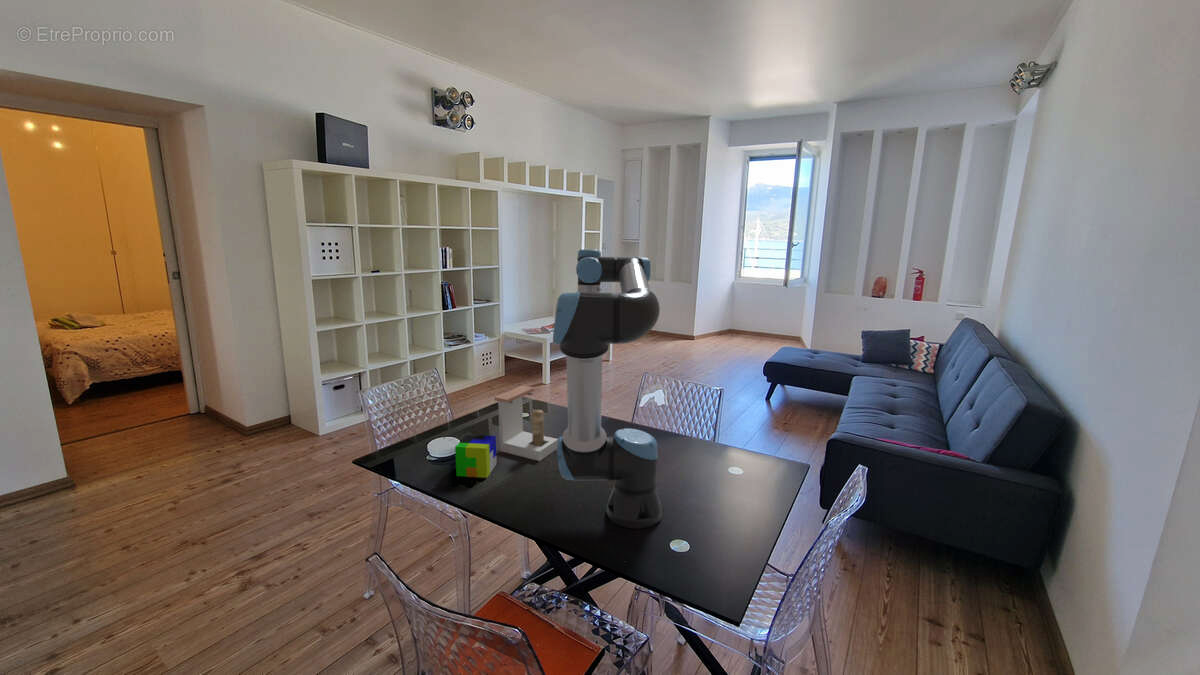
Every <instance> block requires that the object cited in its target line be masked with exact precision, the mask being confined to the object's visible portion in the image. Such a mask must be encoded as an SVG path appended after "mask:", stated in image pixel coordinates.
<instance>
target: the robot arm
mask: <svg viewBox="0 0 1200 675" xmlns="http://www.w3.org/2000/svg"><path fill="white" fill-rule="evenodd" d="M651 267H652V266H651V260H650V259H649V258H648V257H643V256H642V257H641V256H631V257H628V256H625V257H624V256H622V257H621V256H616V257H615V256H602V252H601V250H599V249H579V250H578V251H577V263H576V267H575V270H576V272H575V274H576V275H577V276H576V277H577V291H576V292H564V293H563V292H562V294H560V295H559V297H558V298H557V302H556V309H555V315H554V325H553V326H554V327H553V333H552V334H553V335H552V342H553V344H557V345H559V350H560V353H562V355H564V356H565V358H566V359H565V360H566V390H567V392H566V395H567V396H566V397H567V428H566V429H565V430H564V431H563V433H562V435H561V436H559V437H558V438H557V439H558V444H557V449H556V451H557V462H558V463H557V464H558V470H559V472H560V476H561V477H562V478H563V479H565V480H566V481H567V480H568V481H575V482H579V481H584V482H585V481H613V488H612V490H611V493H610V495H609V499H608V502H607V504H606V514H607V517H608V519H609V520H610V521H612V522H613V523H614V524H616V525H618V526H620V527H623V528H628V529H638V530H639V529H645V528H650V527H652V526H654V525H656V524H658V522H660V521H661V519H662V513H663V512H662V510H663V508H662V503H661V500H660V496H659V494H658V491H657V474H658V473H657V471H658V470H657V469H658V458H659V453H658V442H657V440H656V438H655V437H654V436H653V435H651V434H650V433H648V432H647V431H643V430H640V429H638V428H637V429H636V428H622V429H617V430H616V431H615V433H614V434H613V436H609V435H608V436H607V433H606V431H605V429H604V428H603V427H602V393H603V392H602V389H603V387H602V386H603V385H602V384H603V356H604V355H606V354H607V353H608V352H609V349H610V348H609V347H610V345H612V344H615V345H616V344H617V345H619V344H621V345H622V344H623V345H624V344H629V343H632V342H635V341H638V340H639V339H641V338H643V337H644V336H646V335H648V333H649V332H651V330H652V329H653V328H654V326H655V325H656V323H657V322H658V321H659V320H658V319H659V318H660V317H659V316H660V311H661V310H660V309H661V307H660V303H659V300H658V297H657V296H656V294H655V293H654V292H653V291H652V290H651V288H650V285H649V281H650V279H651V270H652V269H651ZM602 283H620V284H619V285H620V292H602V288H601V287H602V286H601V285H602Z"/></svg>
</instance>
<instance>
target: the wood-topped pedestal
mask: <svg viewBox="0 0 1200 675" xmlns="http://www.w3.org/2000/svg"><path fill="white" fill-rule="evenodd" d="M534 391H535V387H532V386H528V385H527V386H526V385H520V386H518V387H515V388H513V389H511V390H508V391H506V392H503V393H501V394H499V395H496V396H495V397H494V401H495V402H498V404H497V405H498V425H499V426H498V427H499V428H498V430H499V432H498V433H499V443H500V442H502V443H503V442H505V441H507V440H509V439H511V438H512V437H514V436H516V435H518V434H519V433H521V432H523V431H524V418H523V417H524V415H523V414H524V411H523V410H524V409H523V408H524V406H523V402H524V401H523V397H524V396H526V395H528V396H530V395H531V394H532V392H534Z"/></svg>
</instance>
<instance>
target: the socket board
mask: <svg viewBox="0 0 1200 675" xmlns="http://www.w3.org/2000/svg"><path fill="white" fill-rule="evenodd" d="M558 439H559V438H554V437H550V436H545V435H544V445H543V446H541V447H538V446H534V445H533V438H532V433H531V432H527V431H525V430H523V432H521V433H519V434H518V435H516V436H514V437H512V438H511V439H509V440H507V441H505V442H503V443H502V442H500V441H499V451H500V452H502V453H506V454H510V455H515V456H518V457H522V458H526V459H529V460H530V459H531V460H534V461H538V462H540V461H542V460H543V459H545V458H547V456H549V455H550V454H551V455H552V453H553V452H555V451H557V444H558Z"/></svg>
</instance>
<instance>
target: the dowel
mask: <svg viewBox="0 0 1200 675" xmlns="http://www.w3.org/2000/svg"><path fill="white" fill-rule="evenodd" d="M544 422H545V421H544V411H543V410H542V409H534V410H532V411H531V427H532V428H531V431H532V438H533V445H534V446H538V447H541V446H543V445H544V436H545V432H544V431H545V430H544V429H545V428H544V427H545V426H544Z"/></svg>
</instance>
